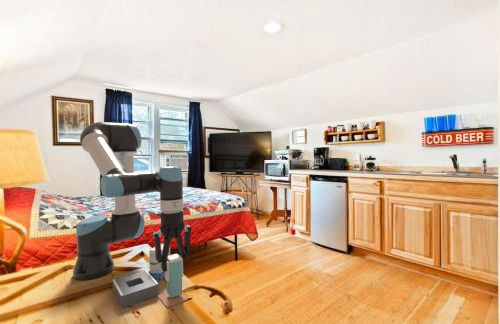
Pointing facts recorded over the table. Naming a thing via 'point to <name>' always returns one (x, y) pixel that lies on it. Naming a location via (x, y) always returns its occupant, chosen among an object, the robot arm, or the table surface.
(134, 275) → the grey socket base
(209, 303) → the table surface
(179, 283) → the teal tall block
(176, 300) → the mat
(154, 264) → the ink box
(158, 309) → the table surface
